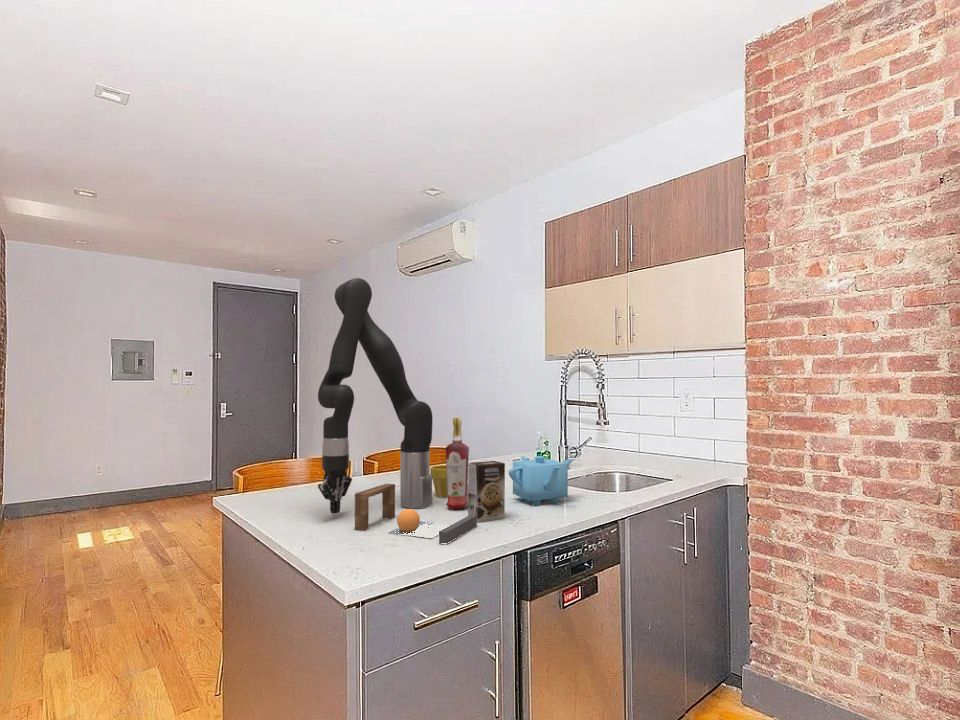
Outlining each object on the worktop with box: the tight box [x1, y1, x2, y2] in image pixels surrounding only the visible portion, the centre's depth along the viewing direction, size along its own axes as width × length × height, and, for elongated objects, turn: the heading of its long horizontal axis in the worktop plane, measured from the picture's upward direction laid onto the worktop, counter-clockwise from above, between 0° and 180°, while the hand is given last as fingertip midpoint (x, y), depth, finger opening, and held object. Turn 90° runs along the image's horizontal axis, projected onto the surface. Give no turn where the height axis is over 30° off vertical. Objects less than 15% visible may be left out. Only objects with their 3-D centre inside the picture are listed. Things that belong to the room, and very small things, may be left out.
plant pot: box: [430, 464, 448, 498], centre depth 192 cm, size 10×10×10 cm
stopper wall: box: [438, 515, 478, 544], centre depth 145 cm, size 2×18×3 cm, turn 156°
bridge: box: [354, 483, 396, 532], centre depth 156 cm, size 3×15×10 cm, turn 156°
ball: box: [396, 508, 421, 532], centre depth 148 cm, size 6×6×6 cm
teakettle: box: [508, 455, 575, 506], centre depth 184 cm, size 19×19×15 cm
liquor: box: [445, 417, 470, 511], centre depth 174 cm, size 7×7×28 cm
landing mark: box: [387, 520, 434, 537], centre depth 150 cm, size 13×13×1 cm
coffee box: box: [467, 460, 506, 523], centre depth 162 cm, size 9×6×16 cm
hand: (335, 512), depth 162 cm, fingers closed
